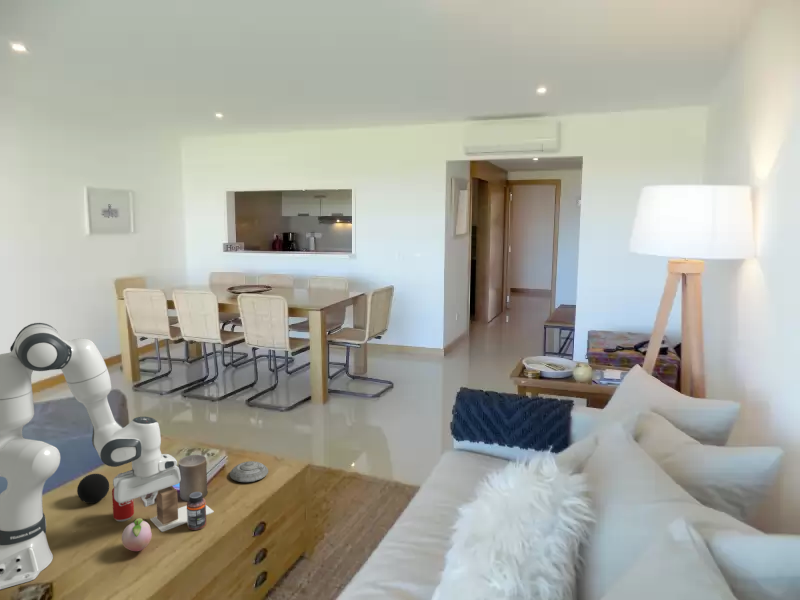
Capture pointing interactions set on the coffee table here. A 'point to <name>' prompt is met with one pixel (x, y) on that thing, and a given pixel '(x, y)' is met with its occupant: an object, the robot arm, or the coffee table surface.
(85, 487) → the decorative ball
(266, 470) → the flying saucer
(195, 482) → the pillar candle
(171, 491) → the block
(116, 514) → the beverage can
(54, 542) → the coffee table surface
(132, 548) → the decorative fruit
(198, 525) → the supplement bottle
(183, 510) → the mat
